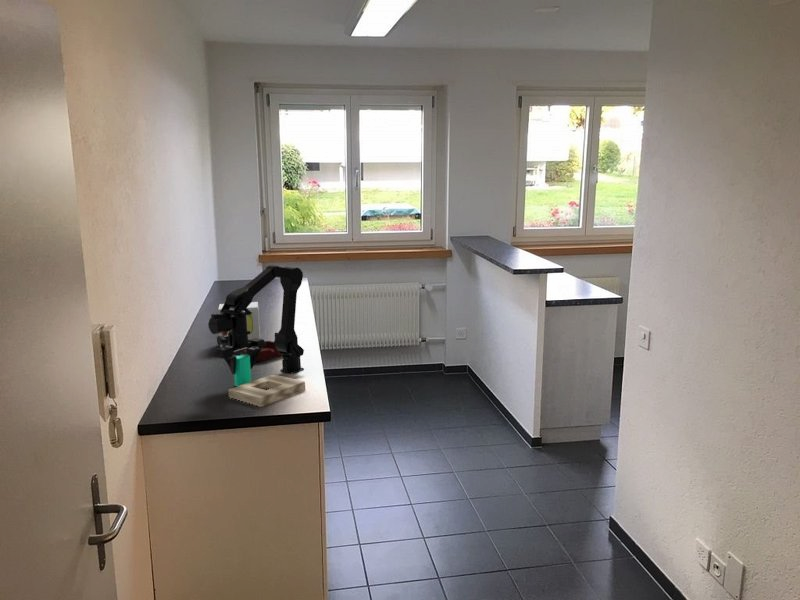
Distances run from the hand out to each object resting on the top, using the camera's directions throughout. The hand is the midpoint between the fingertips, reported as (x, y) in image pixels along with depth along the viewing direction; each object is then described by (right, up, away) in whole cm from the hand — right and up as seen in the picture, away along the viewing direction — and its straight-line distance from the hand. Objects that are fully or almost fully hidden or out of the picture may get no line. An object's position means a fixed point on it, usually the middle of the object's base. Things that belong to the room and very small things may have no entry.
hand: (242, 371), depth 230 cm
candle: (0, -5, +1) cm, 5 cm away
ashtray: (+1, +1, +38) cm, 38 cm away
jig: (+11, -7, -10) cm, 16 cm away
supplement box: (-15, +5, +59) cm, 61 cm away
